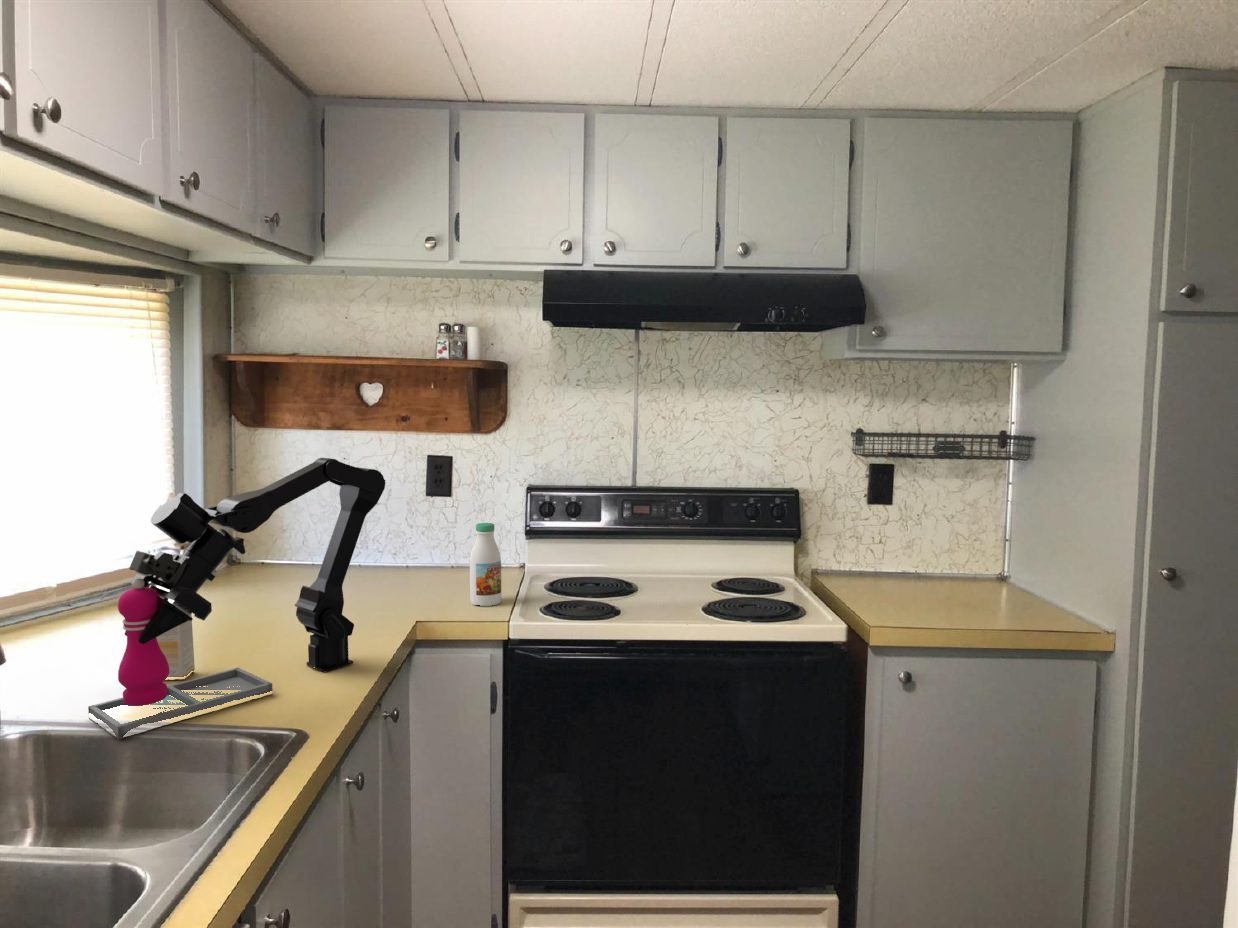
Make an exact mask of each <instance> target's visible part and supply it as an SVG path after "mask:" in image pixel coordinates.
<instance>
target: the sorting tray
mask: <svg viewBox="0 0 1238 928" xmlns="http://www.w3.org/2000/svg"><path fill="white" fill-rule="evenodd" d="M196 686H197V687H196ZM199 686H201V687H199ZM203 686H206V687H203ZM207 686H208V687H207ZM229 686H230V688H229ZM233 686H234V687H233ZM237 686H238V687H237ZM239 686H240V687H239ZM227 687H228V688H227ZM181 690H241V691H238V692H234V693H230V694H228V693H226V694H225V693H222V694H221V692H222V691H221V692H219V691H217V692H215V691H214V693H215V694H214V693H209V694H208V692H206V693H204V692H202V693H200V692H198V693H196V692H195V693H194V692H193V693H194V694H192V692H191V694H192V695H224V696H220V697H216V698H213V699H209V700H208V699H207V700H206V699H205V700H206V701H202V702H200V701H198V700H196V699H195V698H193V697H191V696H189V695H191V694H189V693H190V692H189V693H188V692H186V693H185V692H184V691H183V692H182V691H181ZM273 690H274V689H273V683H272V682H270V681H268V680H266V679H264V678H262V677H259V676H258V675H255V674H253V673H251V672H249V671H246V670H244V669H242V668H240V667H235V668H231V669H227V670H223V671H219V672H216V673H215V672H214V673H211V674H209V675H204V676H201V677H200V676H199V677H196V678H192V679H189V680H185V681H184V680H183V681H181V682H177V683H174V684H169V685H167V697H166V698H165V699H163V703H160V702H161V701H160V702H158V703H153V704H150V705H185V704H186V705H188V706H185V707H181V708H180V707H179V708H177V709H174V708H173V709H174V710H170V711H167V712H164V711H163V713H162V712H160V713H158V714H156V715H153V716H149V717H146V718H142V719H139V720H135V721H132V722H128V723H124V724H120V723H119V722H118V721H116V720H115V719H113V718H112V717H110V716H109V715H107V714H106V713H105V712H103V711H102V710H105V709H110V708H113V707H117V706H120V705H126V704H124V703H123V697H119V698H116V699H111V700H108V701H105V702H100V703H95V704H92V705H88V707H87V708H88V714H89V713H91V714H93V715H94V716H95V717H96V718H97V719H100V720H102V721H103V722H104V723H106V724H107V725H108V726H109V727H110V728H111V729H112V730H113V732H114V733H115V735H116V738H115V739H116V740H118V741H119V740H123V736H124V735H125V734H126V733H127V732H128V731H130V730H131V729H133V728H136V727H138V726H140V725H142V724H147V723H154V722H158V721H162V720H166V719H171V718H174V717H178V716H181V715H185V714H190V713H193V712H196V711H199V710H203V709H207V708H211V707H214V706H217V705H222V704H224V703H227V702H231V701H233V700H240V699H243V698H246V697H250V696H254V695H260V694H264V693H267V692H270V691H273ZM218 692H219V693H218ZM169 695H171V696H173V697H174V698H173V697H171V696H169ZM175 698H176V699H177V700H180V701H182V702H183V703H185V704H183V703H181V702H179V703H177V702H176V704H175V703H173V702H172V704H171V702H170V701H169V702H170V703H169V702H168V701H167V700H176V699H175ZM201 700H204V698H203V699H201ZM159 708H160V709H161V707H159ZM159 708H157V709H159ZM168 708H169V707H168ZM153 709H156V708H153ZM162 709H163V708H162ZM164 709H167V708H165V707H164ZM169 709H171V708H169ZM165 711H166V710H165Z"/></svg>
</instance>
